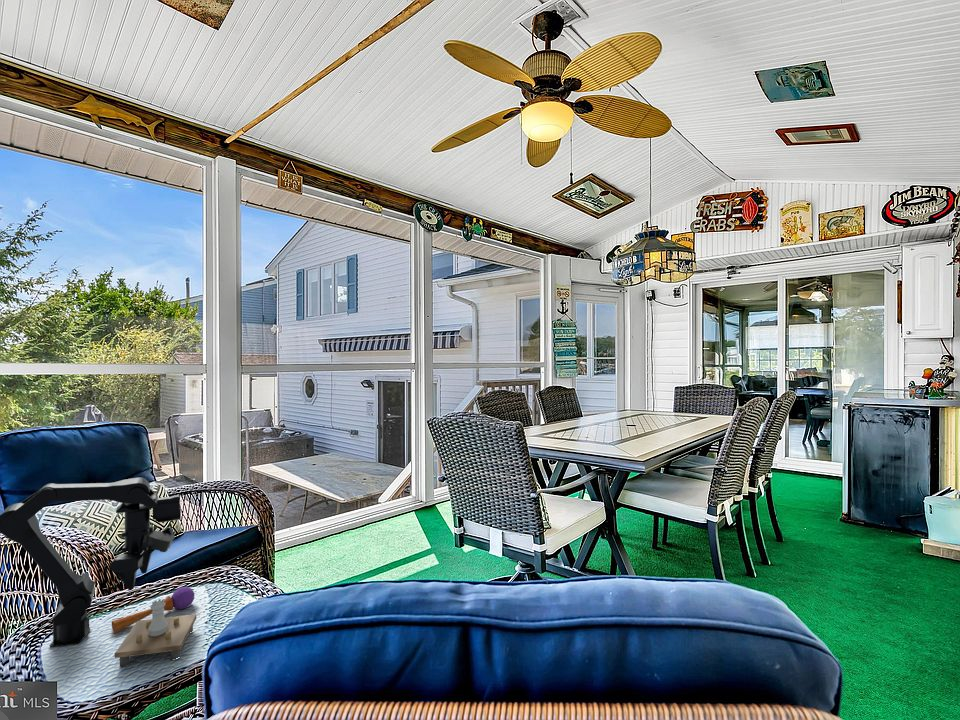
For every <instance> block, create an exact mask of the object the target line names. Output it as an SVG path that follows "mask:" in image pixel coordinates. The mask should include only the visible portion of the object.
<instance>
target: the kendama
mask: <svg viewBox="0 0 960 720" xmlns="http://www.w3.org/2000/svg"><path fill="white" fill-rule="evenodd" d="M163 600H164V602H165V606H164V612H165V611H166V612H167V611H169V612H170V611H174V609H177V610H185V609H186V608H189V606H191V605H192V604H193V602H194V600H195V591H194V590H193V588H191V587H189V586H181V587H180V588H177V589H176V590H175V591H174V592H173V593H172V595H171V596H170V595H168V596H167V597H166V598H164V599H163ZM152 611H153V610H152V609H151V608H149V609H146V610H143V611H140V612H136V613H134V614H130V615H127V616H125V617H122V618H118V619H114V620H112V621H111V629H112V632H113V633H114V634H118V632H121V631H123V630H125V629H126V628H129V627H130V626H132V625H135V624H136V622H137V621H138V620H144V618H146V617H148V616H150V615H151V616H152Z"/></svg>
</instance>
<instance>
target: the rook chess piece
mask: <svg viewBox="0 0 960 720" xmlns="http://www.w3.org/2000/svg"><path fill="white" fill-rule="evenodd" d="M164 600H165V599H158V600H156V599H155V600H154V601H152V604H151V605H150V609H152V610H153V611H152V614H151V616H152V618H151V619H152V622H151V624H150V626H149V628H148V635H149V636H151V637H157V636H160V635H163V634H164V633H166V631H167V630H168V627H167V626H168V623H167V622H166V620H165V619H164V618H165V611H164V606H165V602H164Z"/></svg>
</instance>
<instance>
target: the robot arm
mask: <svg viewBox="0 0 960 720" xmlns="http://www.w3.org/2000/svg"><path fill="white" fill-rule="evenodd" d="M81 501H113V502H116V503H120V505H118V506H117V507H116V510H115V513H116V514H121V513H124V531H122V533H121V538H122V537H123V538H124V545H123V546H122V548H121V552H124V553H122V554H118V556H117V557H115V558H114V559H113V561H111V563H110V566H109V567H110V568H109V569H110V572H112V573H116V575H117V576H118V577H119V579H120V580H121V581H122V583H123V585H125V587H126V588H127V589H128V591H129V590H134V589H135V585H136V584H135V583H136V577H137V572H138V570H139V571H140V573H141V574H142V575H143V574H144V575H145V574H147V571H148V568H149V565H150V563H151V562H150V561H151V558H152V555H153V553H154V551H159V552H160V553H166V552H167V551H168V550H169V549H170V548H171V546H172V544H173V541H174V540H175V533H174V531H173V529H174V528H172V527H170V526H166V527H165V528H164V529H163V530H158V531H157V530H155V527H154V526H153V524H151V509H152V521H153V520H154V522H157V523H158V524H159V523H166V522H174V521H180V520H182V518H181V517H182V513H181V512H182V507H181V497H180V494H176V495H171V496H165V497H159V496H158V494H157V493H156V492H155V491H153V490H152V488H151V484H150V482H149V480H147V478H144V477H141V476H140V477H138V476H137V477H133V478H132V477H131V478H128V479H121V480H118V481H115V482H96V483H95V482H94V483H93V482H90V483H53V482H51V483H47V484H45V485H44V486H42V488H40V489H39V490H37V491H36V492H34V493H33V494H31V495H29V496H28V497H27V498H25V499H24V500H23V501H21V502H17V503H13V504H11V505H8V506H7V507H6V508H5V509H4V510H3V511H2V513H0V534H2V535H3V536H4V537H6V538H7V539H8V540H10V541H12V542H15V543H17V544H19V545H20V546H21V547H22V548H23V549H24V550H25V552H26V553H27V554H28V555H29V557H31V559H32V560H33V561H34V562H35V564H36V565H37V566H38V568H39V569H41V571H42V572H43V573H44V575H45V576H46V577H47V578H48V579H49V580H50V582H51V583H52V584H53V585H54V586H55V588H56V592H57V596H58V599H59V603H58V605H57V608H56V610H55V613H54V615H53V617H52V619H51V620H52V641H51V643H50V644H49V647H50V648H54V647H62V646H63V647H64V646H72V645H79V644H80V643H81V642H82V641H83V640H84V639H85V637H86V636H87V635H88V634H89V633H90V632H91V627H90V616H88V611H87V610H88V609H89V608H90V607H91V605H92V602H93V599H94V595H95V592H96V587H95V585H96V581H94V580H92V579H91V578H90V575H89V573H88V572H87V571H86V572H84V573H82V575H81V574H78V573H76V572H75V571H73V569H72V568H71V567H70V566H69V564H68V563H67V562H66V560H65V559H64V558H63V557H62V556H61V555H60V553H59V552H58V551H57V550H56V548H55V547H54V546H53V545H52V543H51V542H50V541H49V539H48V538H47V537H46V536H45V534H44V533H43V532H42V531H41V528H40V524H39V521H38V517H37V515H36V514H38V513H39V512H40V511H42V510H43V508H44V509H45V508H46V506H47V505H49V504H51V503H54V502H58V503H59V502H81ZM126 552H127V553H126Z"/></svg>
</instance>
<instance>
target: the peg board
mask: <svg viewBox="0 0 960 720" xmlns="http://www.w3.org/2000/svg"><path fill="white" fill-rule="evenodd" d="M164 619H165V620H166V622H167V623H168V626H167V627H168V630H167V631H166V633H164V634H163V635H160V636H157V637H151V636H149V635H148V628H149V626H150V624H151V622H152V618H150V619H141V620H138V621H137V622H136V623H134V624H133V626H132V628H131V629H130V630H129V632H128V633H127V635H126V637H125V638H124V639H123V641H122V642H121V643H120V645H119V646H118V648H117V649H116V651H115V653H114V659H119V667H120V668H126V667H127V666H129V665H130V664H131V662H130V661H131V659H130V657H134V656H143V655H150V654H158V653H167V652H170V660H171V659H176V658H178V657H180V658H181V650H182V648H183V646H184V644H185V642H186V640H187V638H188V636H189V635H190V634H189V633H190V632H192V631H193V632H194V625H195V622H196V621H197V614H196V613H194V614H188V615H187V614H186V615H184V614H183V615H179V616H178V615H177V616H168V617H164ZM193 632H192V633H193Z"/></svg>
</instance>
